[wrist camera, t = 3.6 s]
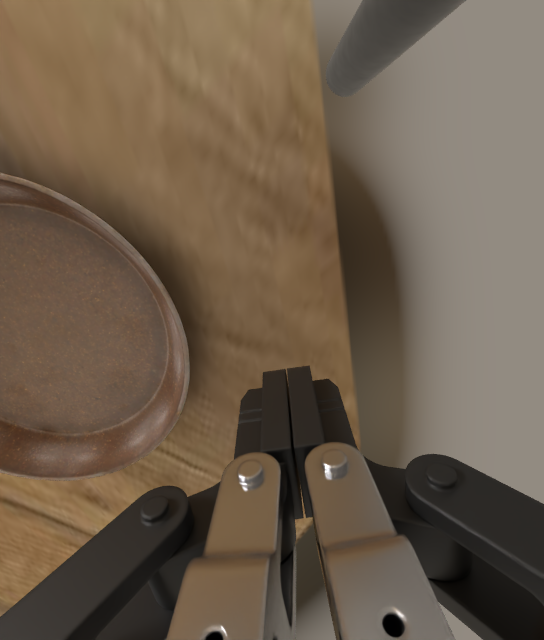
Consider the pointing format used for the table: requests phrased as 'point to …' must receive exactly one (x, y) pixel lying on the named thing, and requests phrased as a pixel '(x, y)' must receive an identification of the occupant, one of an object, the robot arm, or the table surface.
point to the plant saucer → (80, 342)
